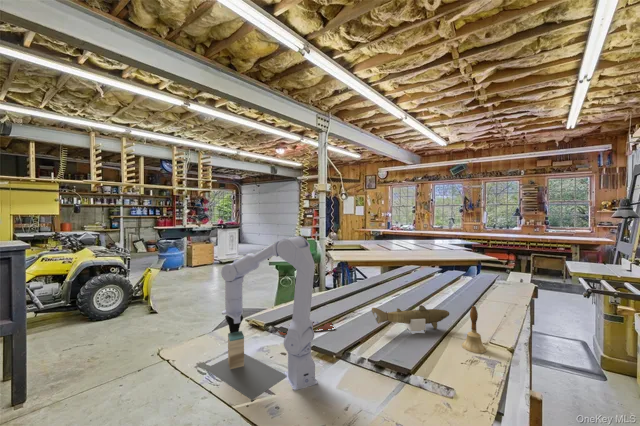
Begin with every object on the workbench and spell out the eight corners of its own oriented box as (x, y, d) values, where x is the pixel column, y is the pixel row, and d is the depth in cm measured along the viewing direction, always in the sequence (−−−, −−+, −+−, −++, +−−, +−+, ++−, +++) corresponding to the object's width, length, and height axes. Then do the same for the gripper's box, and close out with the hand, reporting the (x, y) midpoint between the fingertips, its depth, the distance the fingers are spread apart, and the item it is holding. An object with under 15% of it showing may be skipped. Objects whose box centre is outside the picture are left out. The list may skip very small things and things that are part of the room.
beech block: (244, 366, 95) (244, 336, 95) (230, 369, 93) (229, 338, 93) (241, 359, 99) (241, 330, 99) (228, 362, 97) (228, 333, 97)
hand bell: (463, 351, 106) (464, 309, 106) (460, 341, 114) (460, 301, 114) (489, 355, 104) (490, 311, 103) (483, 344, 112) (484, 304, 111)
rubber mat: (287, 377, 90) (287, 375, 90) (251, 401, 79) (251, 399, 79) (240, 353, 105) (240, 351, 105) (204, 370, 94) (204, 368, 94)
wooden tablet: (331, 322, 134) (331, 318, 134) (337, 331, 124) (337, 327, 124) (273, 327, 128) (273, 323, 128) (275, 337, 118) (275, 333, 118)
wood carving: (368, 329, 125) (368, 303, 125) (442, 324, 130) (442, 300, 130) (374, 338, 116) (374, 311, 116) (454, 333, 121) (454, 307, 121)
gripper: (219, 293, 104) (219, 330, 105) (224, 305, 91) (224, 348, 92) (239, 290, 107) (239, 326, 108) (246, 302, 94) (247, 343, 94)
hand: (234, 336), depth 100 cm, fingers closed
